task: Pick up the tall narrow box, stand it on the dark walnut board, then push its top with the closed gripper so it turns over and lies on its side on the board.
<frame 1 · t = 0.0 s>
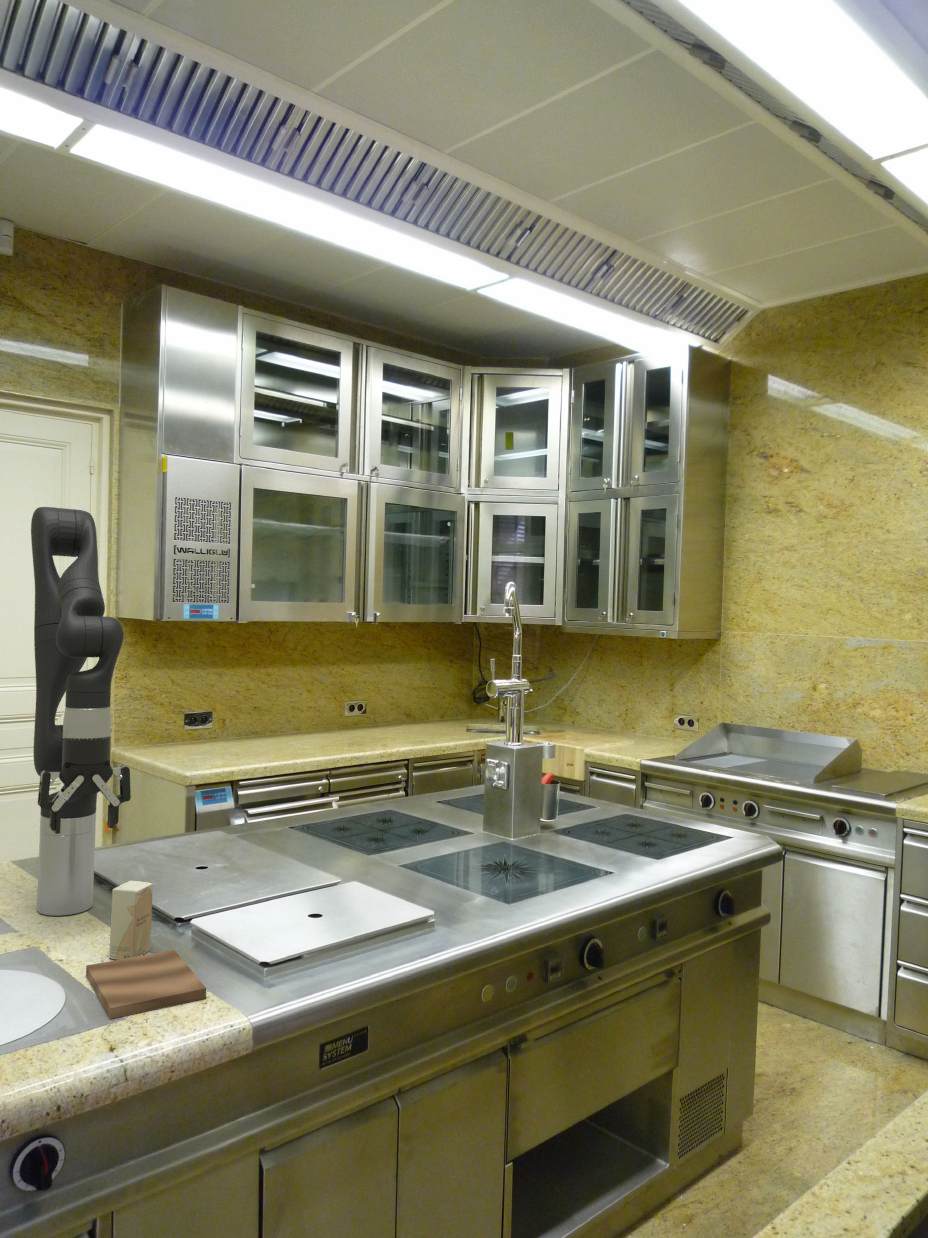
hand: (84, 830, 148), 17 cm above the worktop, tool pointing down, fingers open, 8 cm apart
box: (129, 956, 140), on the worktop
board: (144, 987, 128), on the worktop
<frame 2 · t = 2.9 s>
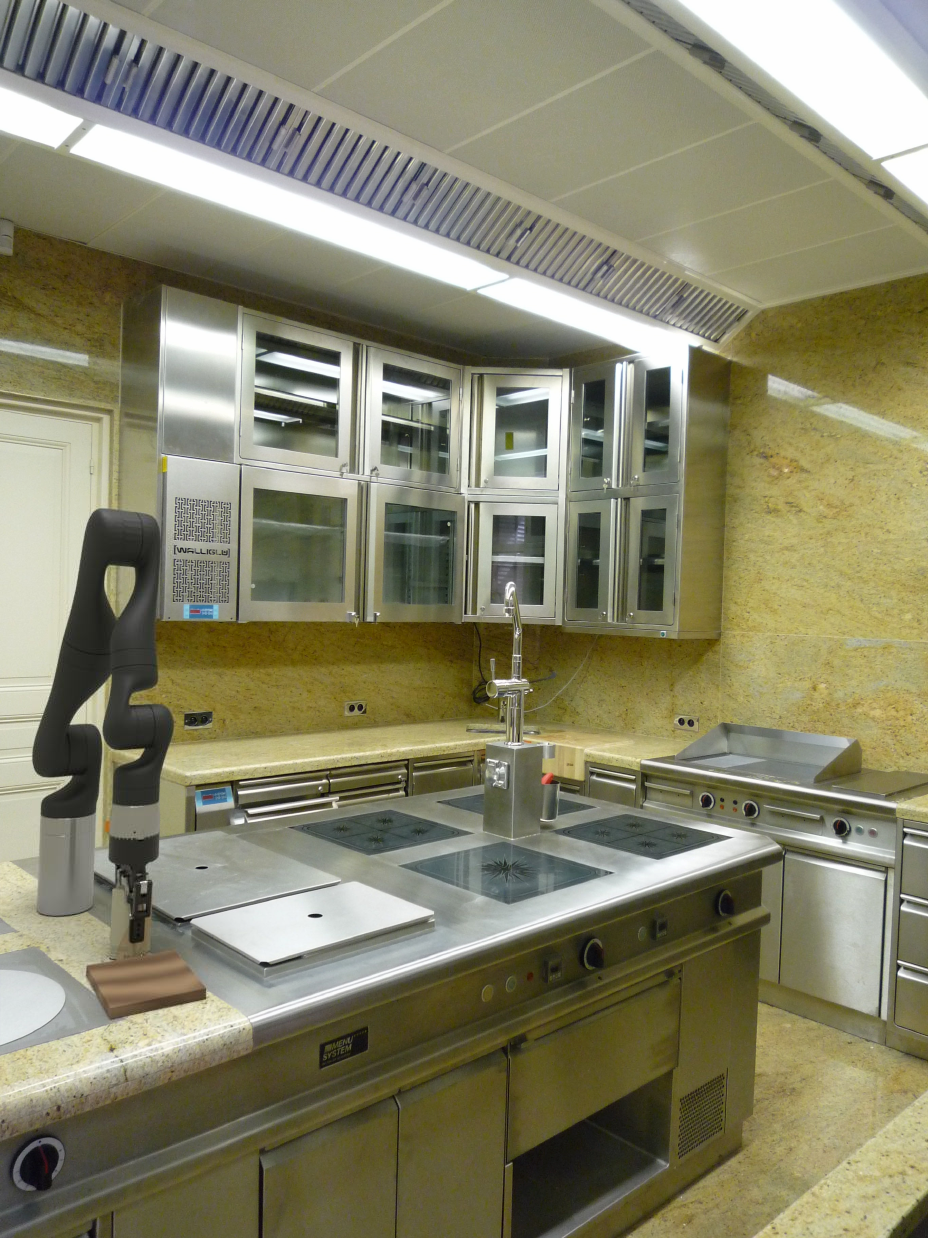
hand: (130, 934, 140), 3 cm above the worktop, tool pointing down, fingers closed on box, 6 cm apart
box: (129, 956, 140), on the worktop, touching gripper
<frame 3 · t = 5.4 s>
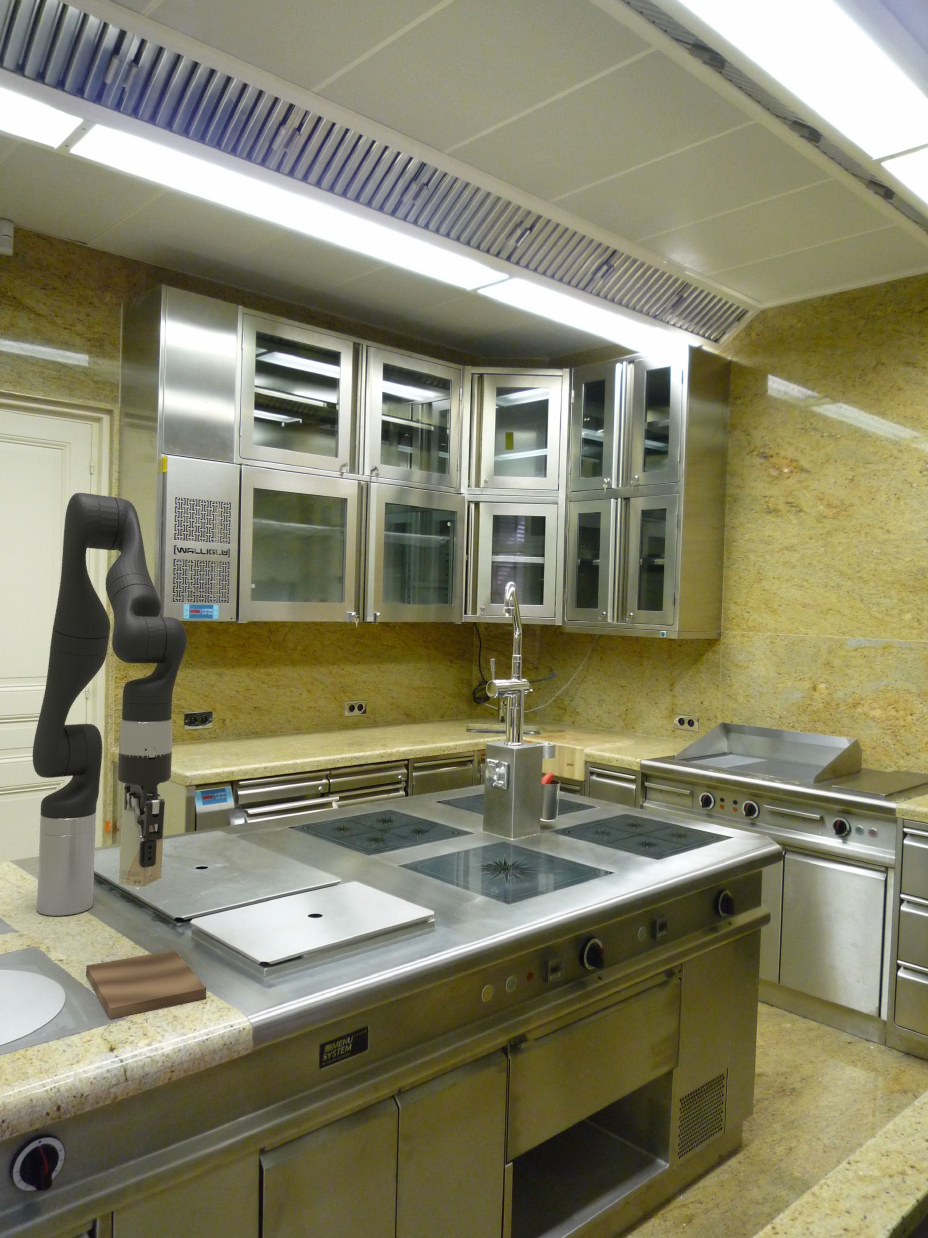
hand: (141, 860, 132), 17 cm above the worktop, tool pointing down, fingers closed on box, 6 cm apart
box: (140, 882, 132), point 14 cm above the worktop, touching gripper
when the fingers open (6 cm above the worktop, at t = 8.0 s): box drops 1 cm, resting on board.
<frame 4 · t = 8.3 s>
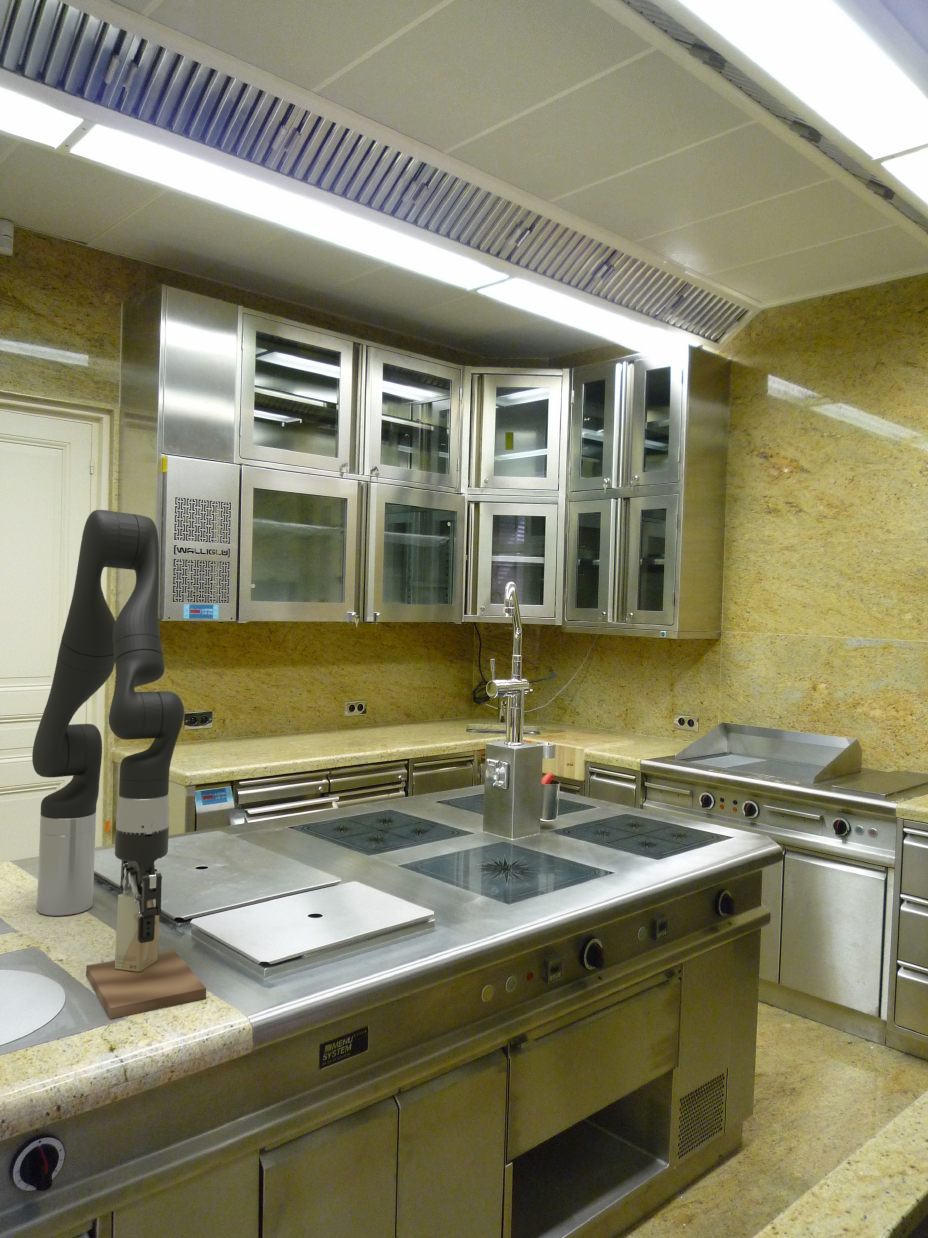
hand: (138, 932, 132), 7 cm above the worktop, tool pointing down, fingers open, 8 cm apart
box: (136, 966, 133), point 1 cm above the worktop, touching board
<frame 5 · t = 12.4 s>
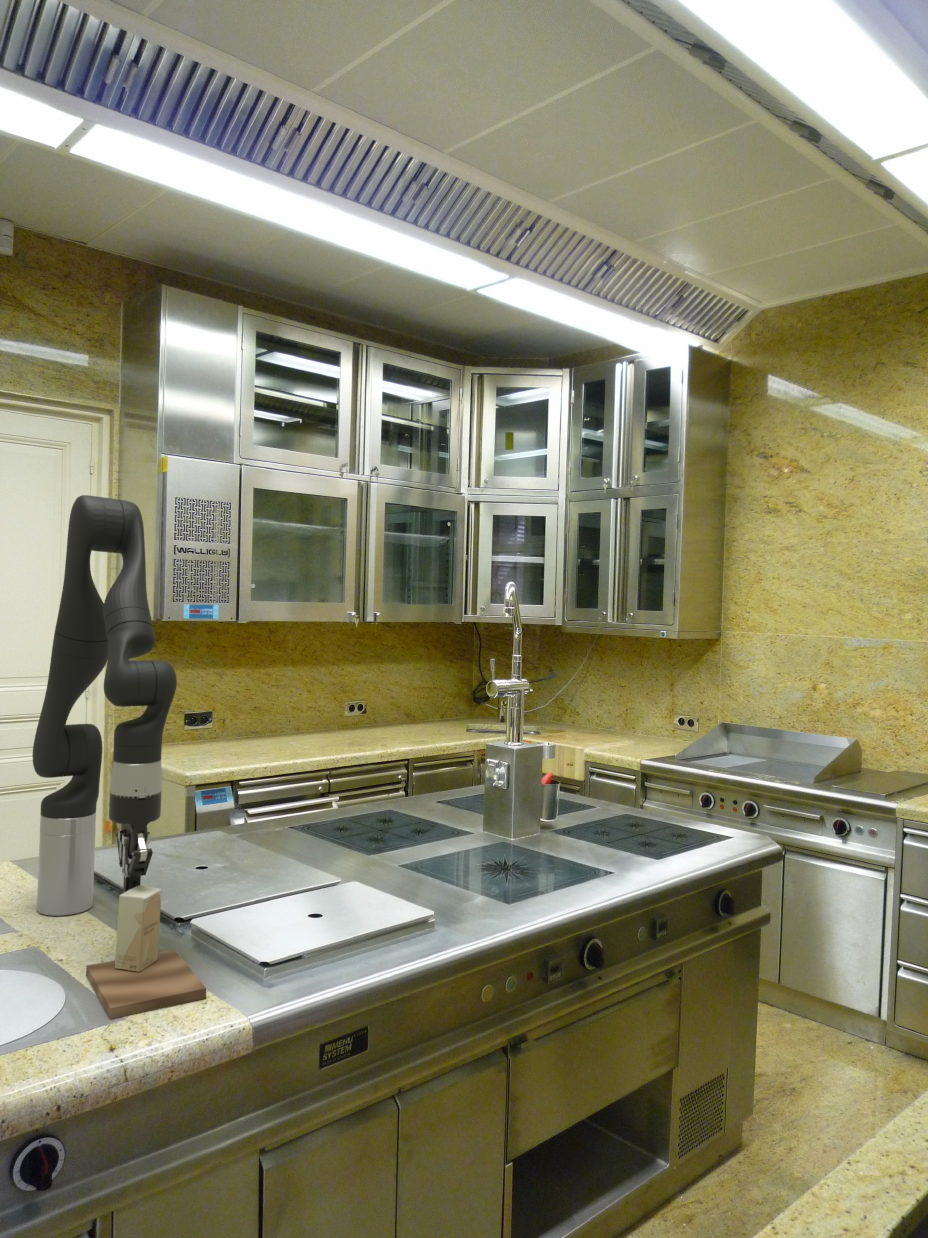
hand: (131, 899, 137), 10 cm above the worktop, tool pointing down, fingers closed
box: (136, 965, 133), point 1 cm above the worktop, touching board, gripper
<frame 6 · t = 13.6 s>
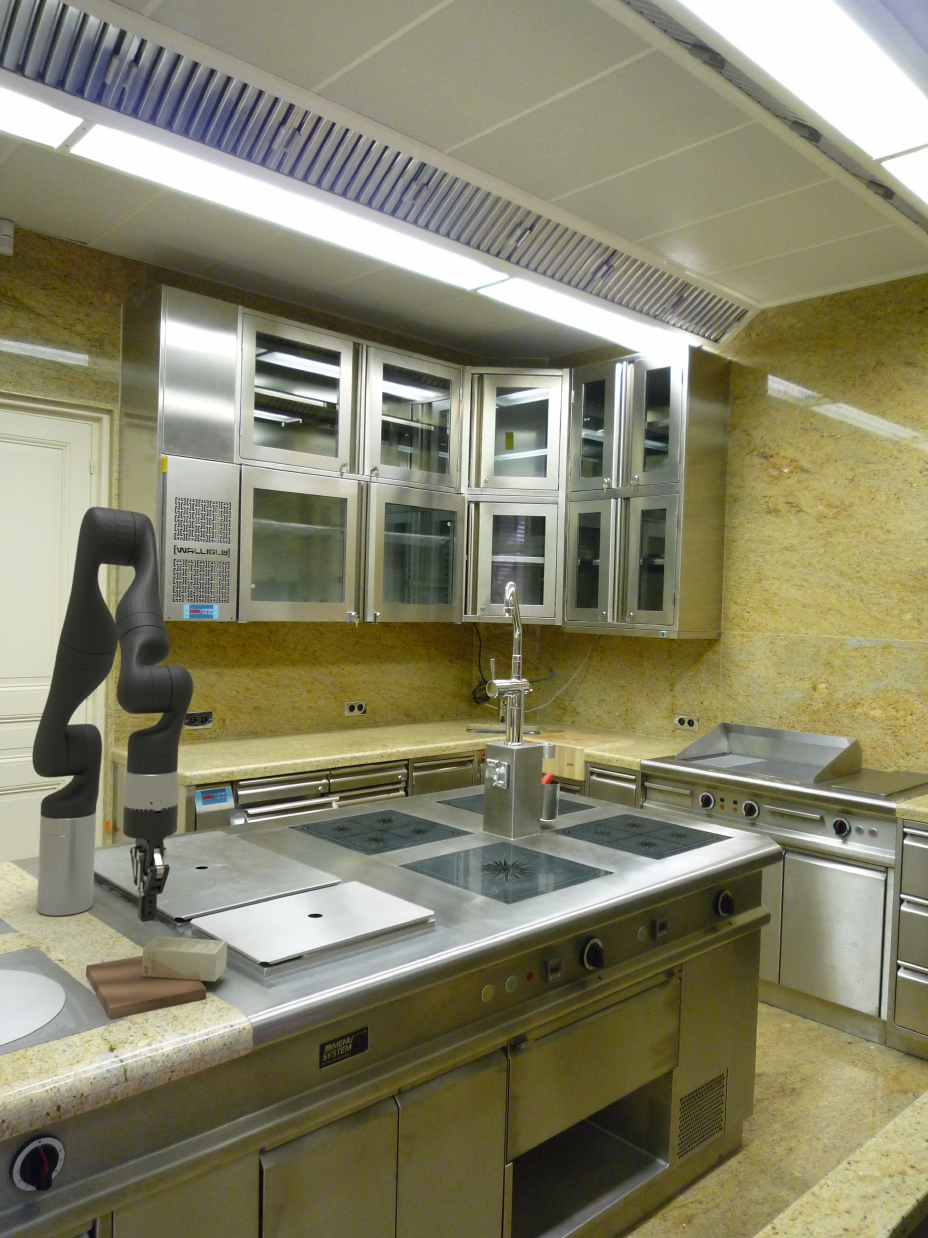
hand: (147, 919, 129), 10 cm above the worktop, tool pointing down, fingers closed
box: (148, 955, 131), point 4 cm above the worktop, touching board
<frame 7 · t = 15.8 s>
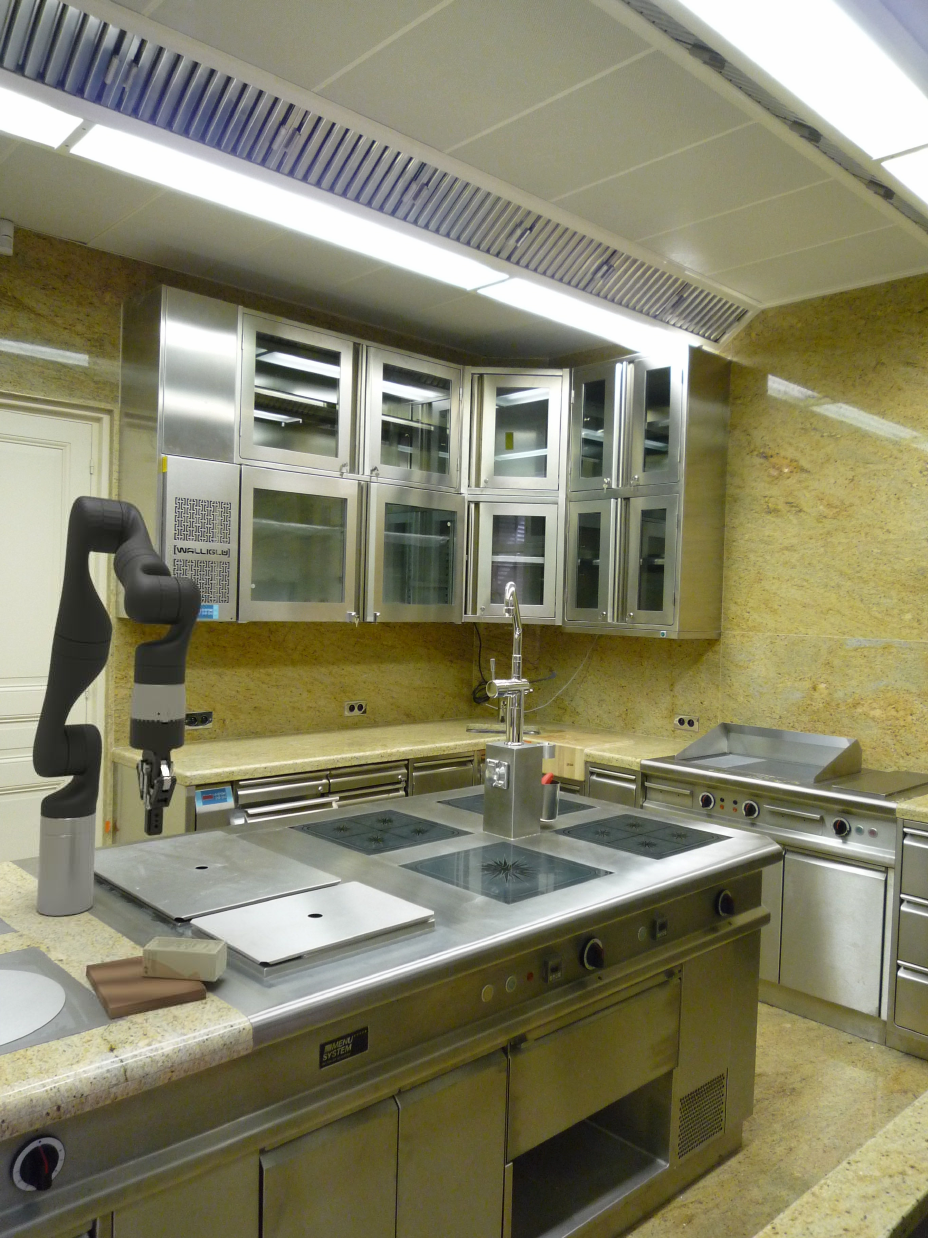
hand: (153, 834, 127), 23 cm above the worktop, tool pointing down, fingers closed
nothing on the worktop moved.
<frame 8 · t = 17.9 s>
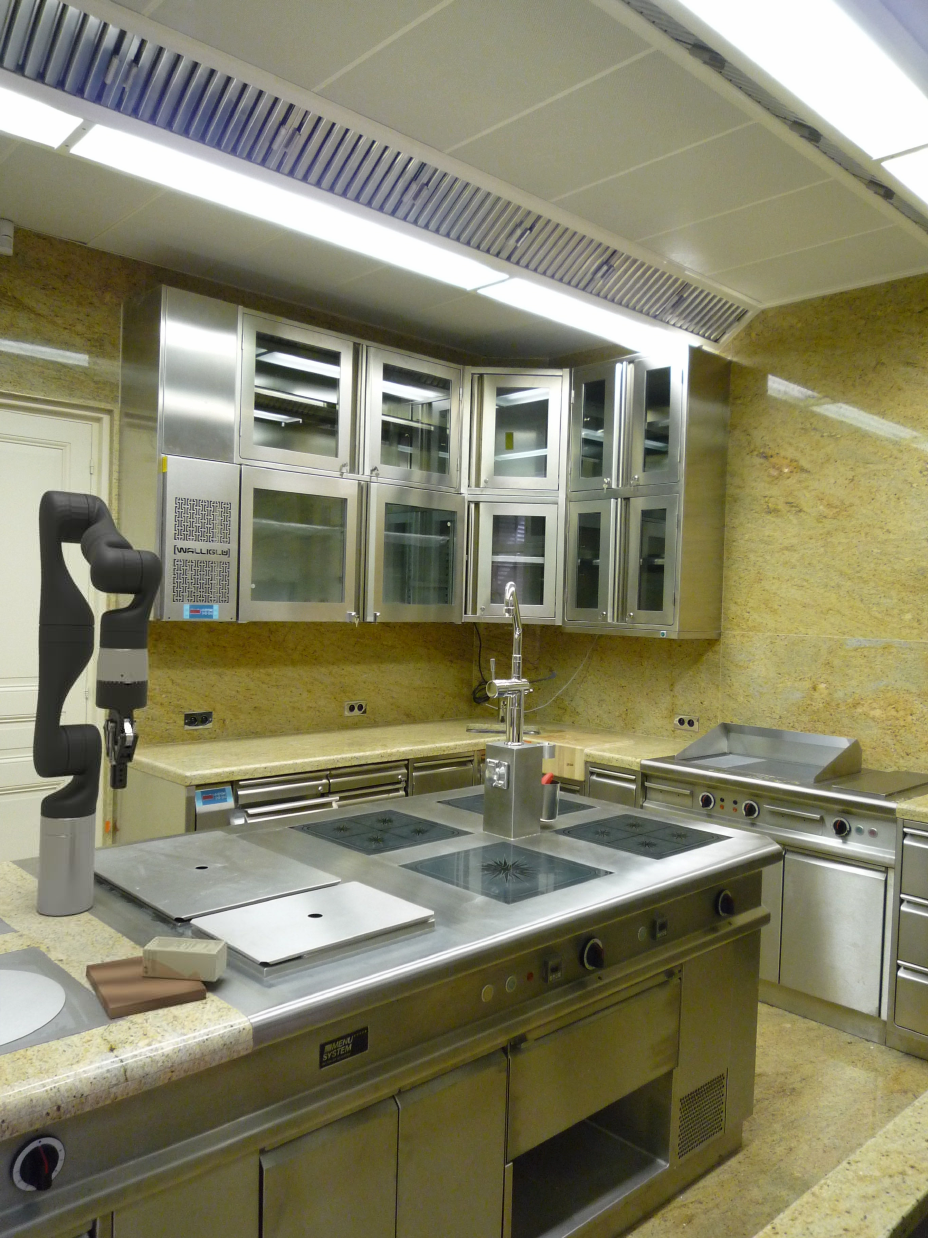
hand: (118, 788, 137), 27 cm above the worktop, tool pointing down, fingers closed
nothing on the worktop moved.
at the end: box tilted 90°; box inside the target area on the board (2.5 cm from its centre), point 3.7 cm above the board's base; the gripper is holding nothing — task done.
